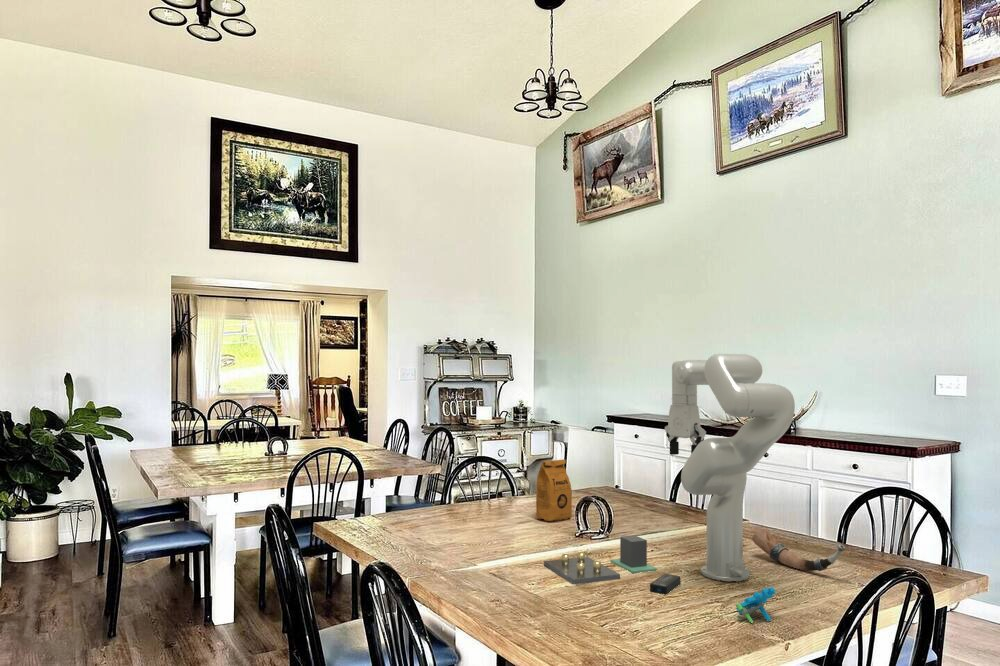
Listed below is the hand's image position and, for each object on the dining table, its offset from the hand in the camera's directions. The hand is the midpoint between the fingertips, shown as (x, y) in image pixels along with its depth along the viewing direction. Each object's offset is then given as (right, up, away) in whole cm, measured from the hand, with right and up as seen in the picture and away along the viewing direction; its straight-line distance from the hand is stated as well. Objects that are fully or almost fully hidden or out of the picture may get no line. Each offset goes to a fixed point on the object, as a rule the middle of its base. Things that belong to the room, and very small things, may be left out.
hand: (684, 456), depth 213 cm
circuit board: (-19, -29, -16) cm, 38 cm away
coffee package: (-37, -31, +42) cm, 64 cm away
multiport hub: (-14, -28, -35) cm, 47 cm away
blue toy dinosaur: (+1, -27, -56) cm, 62 cm away
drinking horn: (+28, -29, -17) cm, 44 cm away
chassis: (-35, -28, -23) cm, 50 cm away
